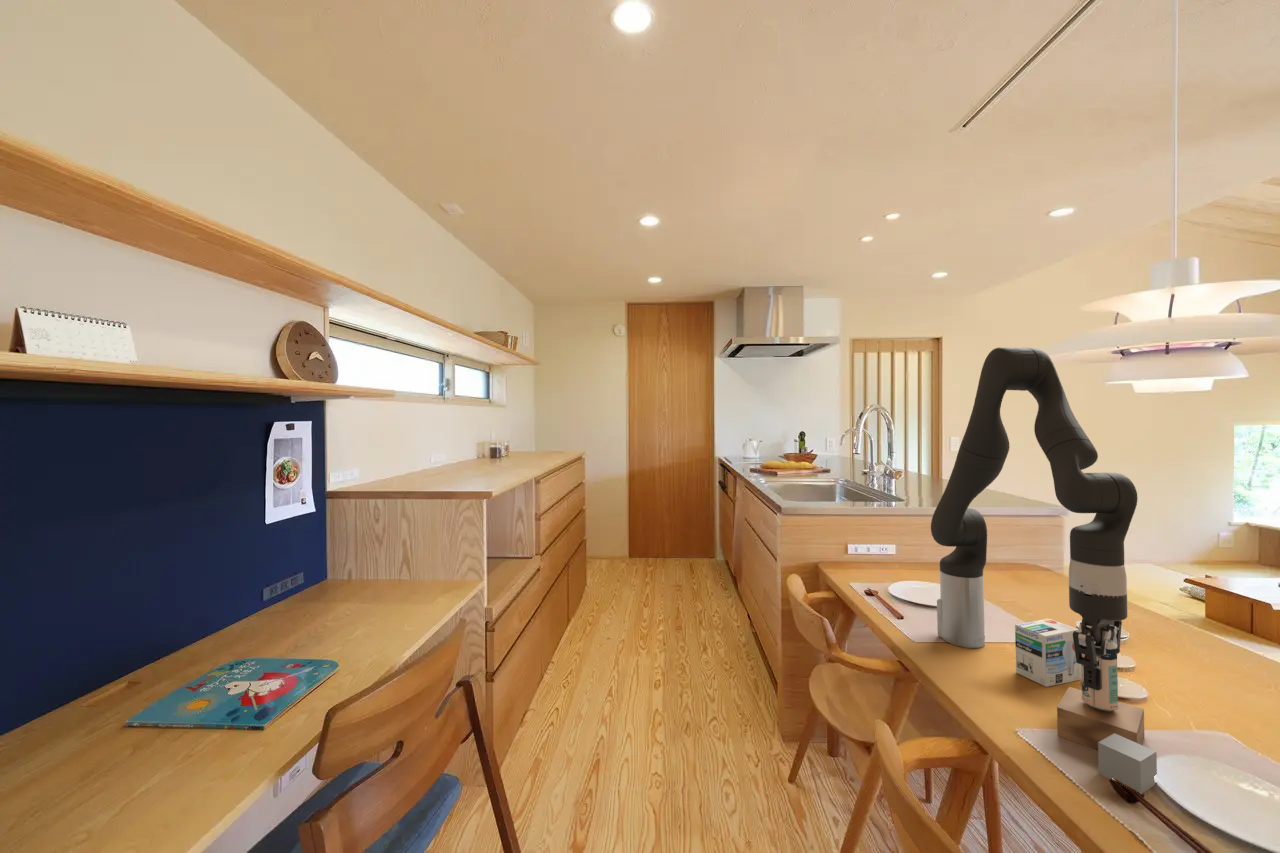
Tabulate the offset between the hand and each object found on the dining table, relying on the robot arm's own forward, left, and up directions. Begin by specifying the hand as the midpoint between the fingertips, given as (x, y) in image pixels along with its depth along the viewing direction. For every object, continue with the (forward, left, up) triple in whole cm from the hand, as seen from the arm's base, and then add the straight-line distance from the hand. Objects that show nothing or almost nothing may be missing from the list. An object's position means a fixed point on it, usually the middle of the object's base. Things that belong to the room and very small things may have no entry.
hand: (1098, 683), depth 87 cm
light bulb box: (-14, +17, -10) cm, 24 cm away
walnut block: (0, 0, -9) cm, 9 cm away
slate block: (+6, -10, -9) cm, 15 cm away
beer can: (0, 0, -4) cm, 4 cm away
